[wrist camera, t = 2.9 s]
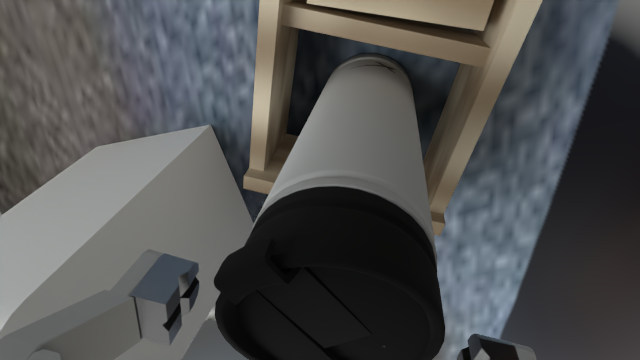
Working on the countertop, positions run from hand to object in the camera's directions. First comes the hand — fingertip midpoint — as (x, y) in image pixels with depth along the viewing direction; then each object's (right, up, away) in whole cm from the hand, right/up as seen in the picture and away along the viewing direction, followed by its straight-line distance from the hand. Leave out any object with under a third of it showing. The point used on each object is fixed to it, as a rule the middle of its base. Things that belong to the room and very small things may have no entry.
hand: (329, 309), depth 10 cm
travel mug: (+3, +10, +15) cm, 19 cm away
